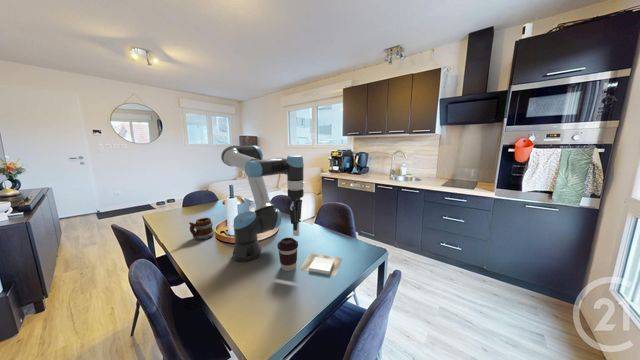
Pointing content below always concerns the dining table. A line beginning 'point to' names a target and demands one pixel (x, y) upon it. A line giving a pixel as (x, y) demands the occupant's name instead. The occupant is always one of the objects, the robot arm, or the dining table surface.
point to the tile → (321, 265)
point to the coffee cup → (288, 253)
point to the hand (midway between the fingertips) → (296, 235)
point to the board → (311, 257)
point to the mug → (202, 228)
